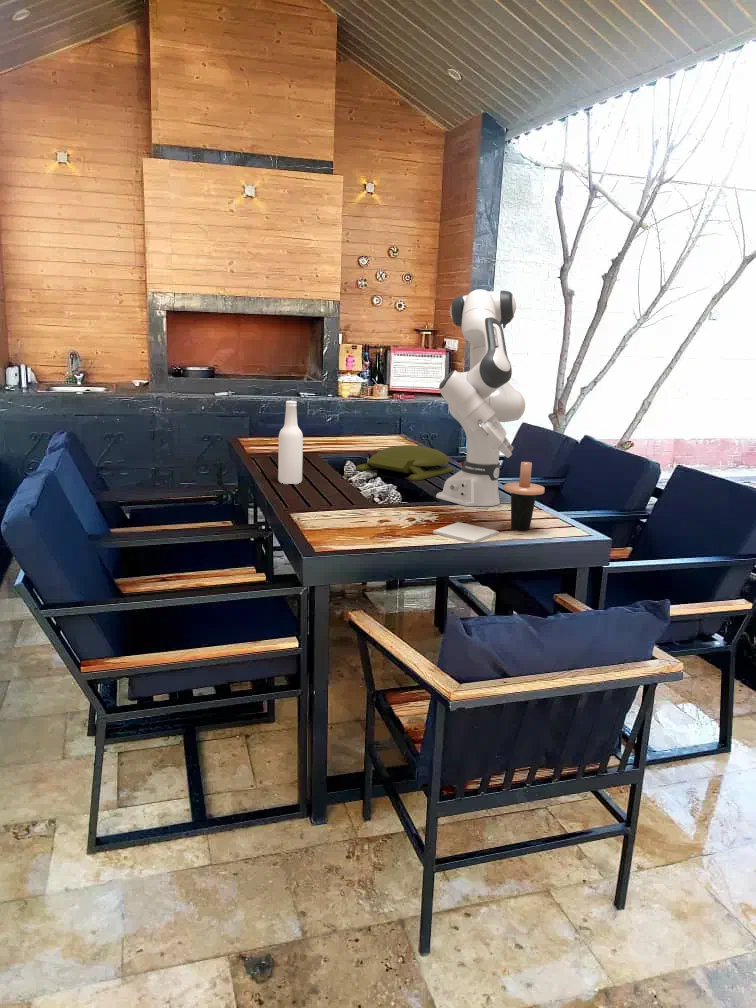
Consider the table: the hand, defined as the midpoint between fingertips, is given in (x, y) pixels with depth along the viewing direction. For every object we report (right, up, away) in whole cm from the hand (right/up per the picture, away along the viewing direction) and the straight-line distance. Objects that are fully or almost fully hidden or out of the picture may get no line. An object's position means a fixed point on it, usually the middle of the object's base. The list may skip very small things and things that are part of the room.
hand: (510, 453), depth 228 cm
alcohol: (-72, -7, +55) cm, 91 cm away
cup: (+4, -23, +5) cm, 24 cm away
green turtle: (-27, -2, +87) cm, 92 cm away
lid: (+4, -11, +2) cm, 12 cm away
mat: (-14, -24, -3) cm, 28 cm away
